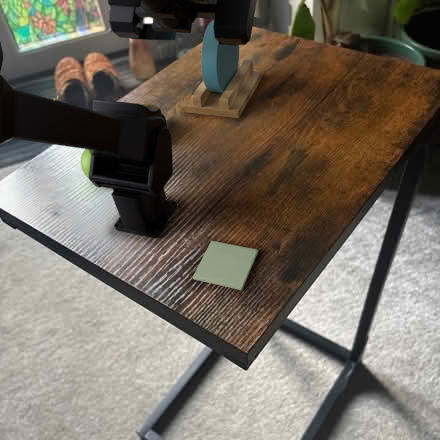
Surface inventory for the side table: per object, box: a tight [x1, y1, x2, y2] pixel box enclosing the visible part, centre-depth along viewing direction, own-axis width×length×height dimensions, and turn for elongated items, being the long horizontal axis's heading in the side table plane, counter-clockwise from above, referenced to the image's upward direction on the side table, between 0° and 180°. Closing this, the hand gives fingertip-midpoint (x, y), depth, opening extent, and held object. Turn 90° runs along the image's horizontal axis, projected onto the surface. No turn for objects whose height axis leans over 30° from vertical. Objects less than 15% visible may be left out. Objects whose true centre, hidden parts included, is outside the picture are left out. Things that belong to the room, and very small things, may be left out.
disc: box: [200, 19, 240, 93], centre depth 72 cm, size 10×2×10 cm, turn 159°
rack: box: [185, 59, 263, 119], centre depth 75 cm, size 12×9×3 cm
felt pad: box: [192, 240, 259, 291], centre depth 54 cm, size 6×6×1 cm
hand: (204, 38), depth 65 cm, fingers open, 9 cm apart
